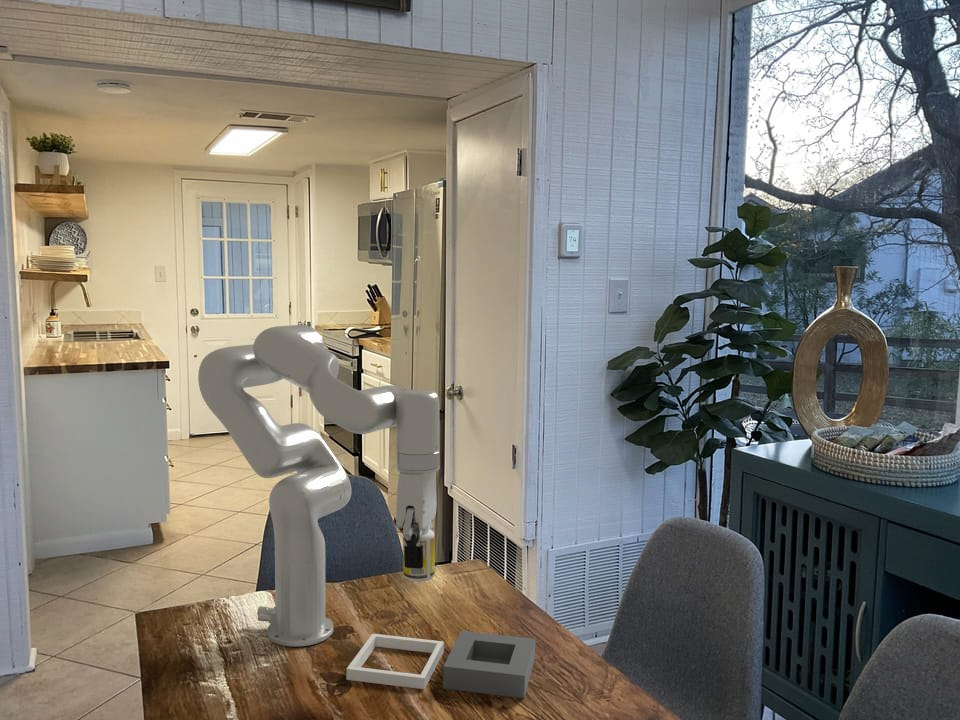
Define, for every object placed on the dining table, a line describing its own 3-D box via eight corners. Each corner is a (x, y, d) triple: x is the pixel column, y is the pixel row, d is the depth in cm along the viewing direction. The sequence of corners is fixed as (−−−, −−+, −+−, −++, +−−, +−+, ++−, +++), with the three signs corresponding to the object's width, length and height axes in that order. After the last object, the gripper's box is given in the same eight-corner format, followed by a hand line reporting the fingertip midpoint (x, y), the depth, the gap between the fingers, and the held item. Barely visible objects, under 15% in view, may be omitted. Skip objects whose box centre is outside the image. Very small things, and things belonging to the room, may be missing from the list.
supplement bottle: (424, 569, 147) (423, 514, 146) (440, 578, 142) (440, 521, 141) (397, 575, 144) (396, 519, 143) (413, 585, 139) (413, 527, 138)
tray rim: (346, 679, 140) (346, 668, 140) (372, 643, 154) (372, 633, 154) (424, 689, 138) (424, 678, 137) (443, 651, 151) (444, 641, 151)
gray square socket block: (443, 688, 138) (443, 666, 137) (460, 651, 152) (461, 630, 151) (524, 698, 135) (524, 675, 135) (534, 659, 149) (535, 638, 149)
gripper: (411, 449, 150) (412, 544, 152) (381, 471, 133) (383, 577, 135) (450, 451, 149) (451, 547, 150) (425, 473, 132) (426, 580, 134)
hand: (419, 560), depth 143 cm, fingers closed on supplement bottle, 5 cm apart
